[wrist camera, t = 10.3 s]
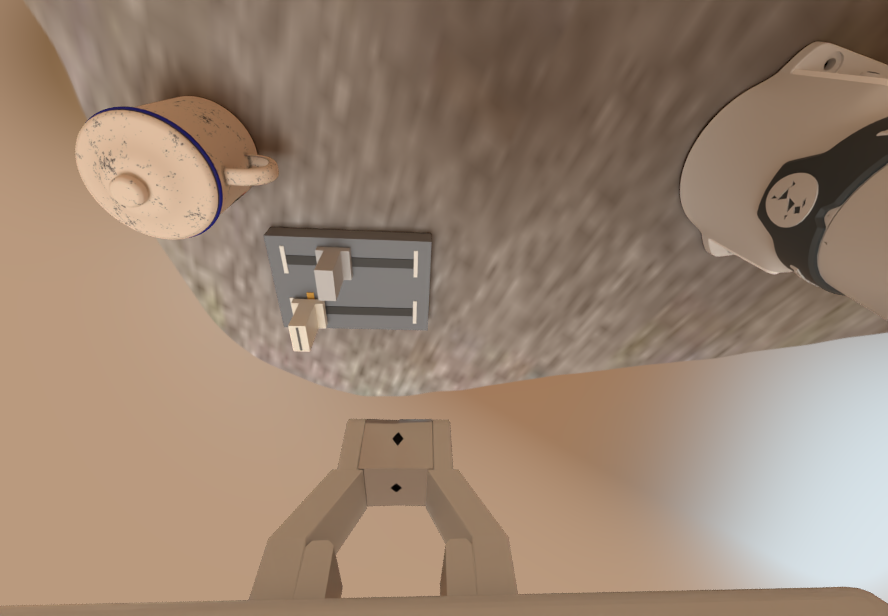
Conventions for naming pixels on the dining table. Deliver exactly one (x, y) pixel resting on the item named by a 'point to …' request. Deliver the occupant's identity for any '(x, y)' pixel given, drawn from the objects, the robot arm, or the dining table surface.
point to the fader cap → (306, 322)
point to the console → (353, 275)
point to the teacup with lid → (169, 164)
